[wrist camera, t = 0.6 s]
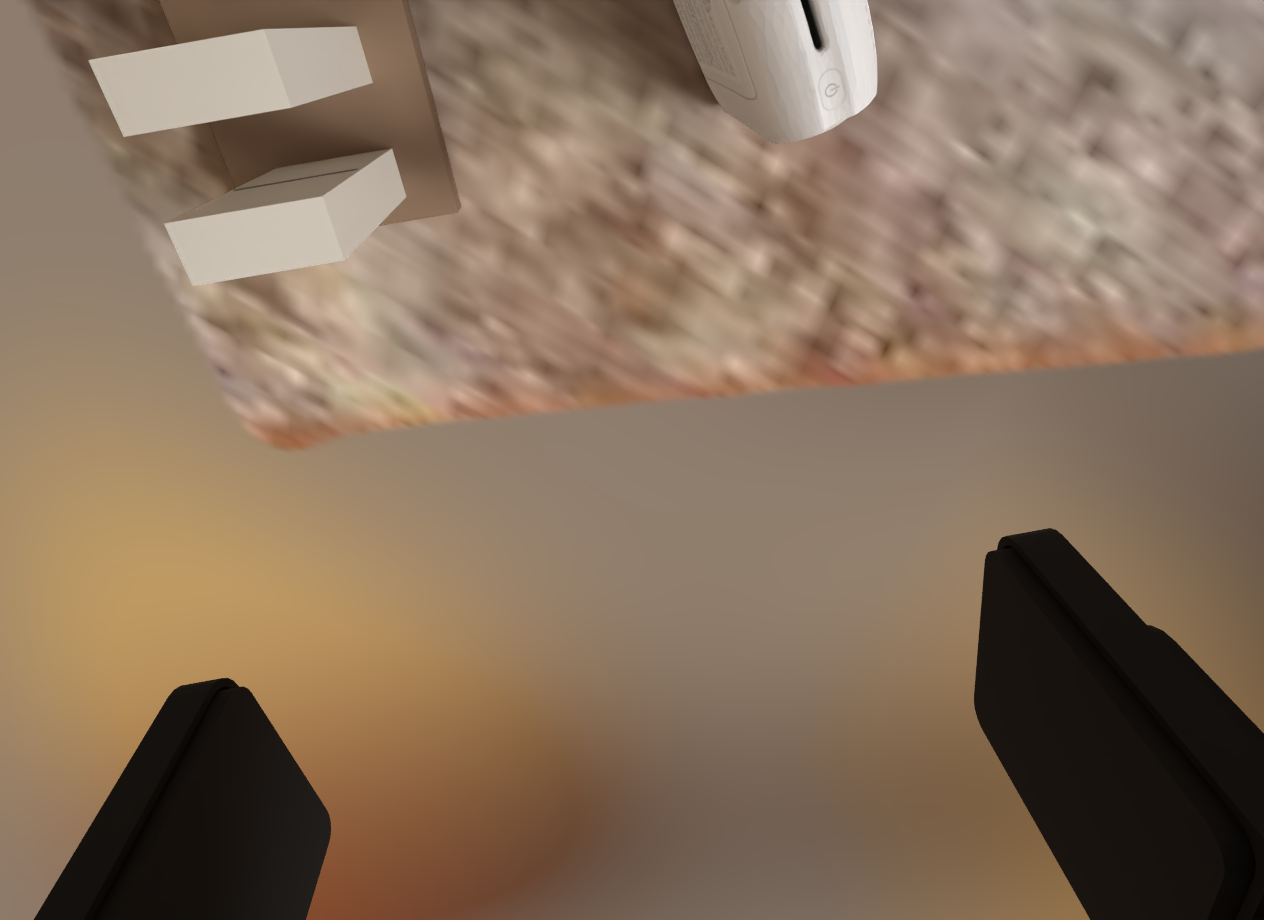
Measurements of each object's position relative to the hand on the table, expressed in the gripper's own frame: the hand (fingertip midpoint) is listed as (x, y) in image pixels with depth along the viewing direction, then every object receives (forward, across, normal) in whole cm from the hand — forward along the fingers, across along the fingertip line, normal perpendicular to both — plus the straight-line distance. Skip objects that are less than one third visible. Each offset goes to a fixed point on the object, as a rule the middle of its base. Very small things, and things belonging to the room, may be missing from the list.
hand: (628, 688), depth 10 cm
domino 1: (+28, +10, -8) cm, 31 cm away
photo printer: (+29, -7, -8) cm, 31 cm away
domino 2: (+28, +10, -3) cm, 30 cm away
